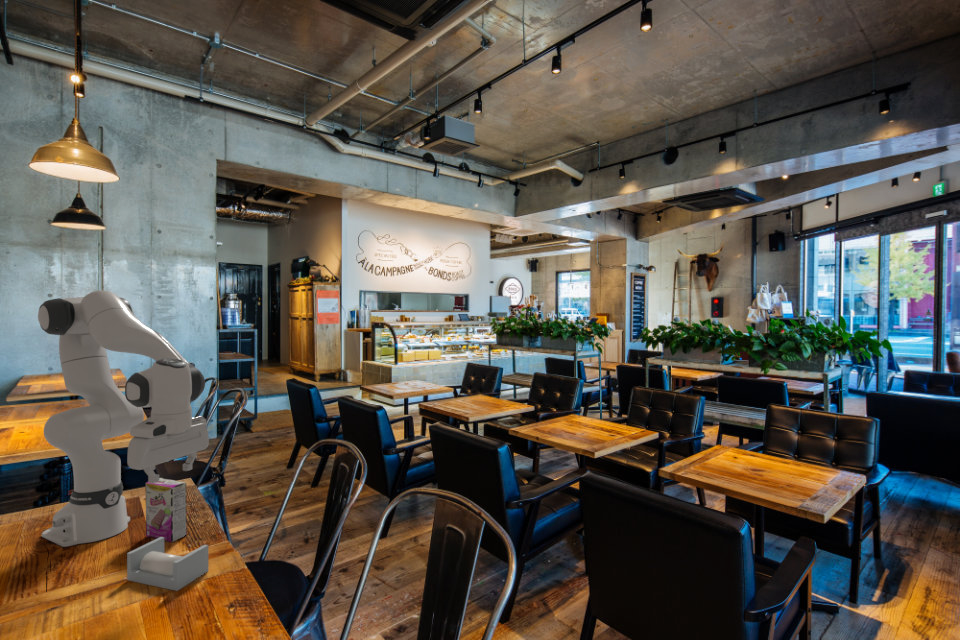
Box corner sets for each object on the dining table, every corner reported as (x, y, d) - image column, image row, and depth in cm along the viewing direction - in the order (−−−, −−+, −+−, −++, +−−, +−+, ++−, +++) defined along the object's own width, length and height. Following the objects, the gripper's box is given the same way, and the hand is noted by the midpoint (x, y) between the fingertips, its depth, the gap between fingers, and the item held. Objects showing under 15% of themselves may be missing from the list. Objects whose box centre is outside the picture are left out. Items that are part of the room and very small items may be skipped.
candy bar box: (144, 537, 140) (144, 482, 140) (160, 530, 145) (160, 477, 145) (171, 543, 136) (171, 487, 136) (187, 535, 141) (187, 481, 141)
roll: (145, 577, 119) (136, 564, 117) (161, 559, 123) (153, 546, 121) (175, 583, 116) (167, 570, 114) (191, 565, 120) (183, 552, 118)
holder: (127, 580, 117) (127, 553, 117) (161, 562, 126) (160, 536, 126) (177, 590, 113) (176, 562, 113) (208, 571, 122) (208, 545, 122)
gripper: (197, 413, 132) (196, 462, 132) (122, 430, 112) (122, 488, 112) (214, 415, 130) (214, 465, 130) (142, 433, 110) (142, 491, 111)
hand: (171, 476), depth 121 cm, fingers open, 8 cm apart
